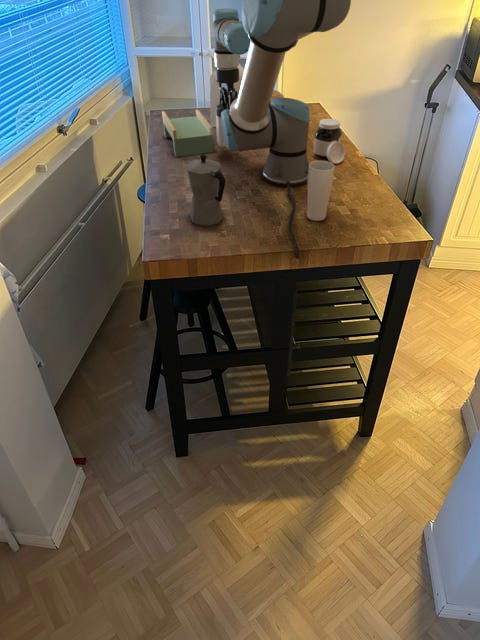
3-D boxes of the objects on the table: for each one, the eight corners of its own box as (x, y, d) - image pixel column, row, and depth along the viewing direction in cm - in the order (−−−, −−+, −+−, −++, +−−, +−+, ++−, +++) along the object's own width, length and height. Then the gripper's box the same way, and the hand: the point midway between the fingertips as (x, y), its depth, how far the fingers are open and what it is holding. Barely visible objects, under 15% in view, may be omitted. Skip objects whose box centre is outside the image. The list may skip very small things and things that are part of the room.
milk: (235, 130, 188) (234, 56, 171) (210, 126, 191) (206, 54, 174) (248, 121, 196) (248, 50, 179) (223, 117, 200) (221, 47, 183)
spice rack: (213, 152, 170) (212, 125, 164) (175, 156, 167) (173, 130, 161) (199, 132, 186) (198, 107, 180) (164, 136, 183) (161, 111, 177)
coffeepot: (179, 214, 134) (173, 152, 123) (206, 204, 139) (202, 143, 127) (211, 236, 125) (208, 170, 114) (239, 224, 130) (238, 160, 118)
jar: (227, 149, 158) (226, 111, 151) (211, 143, 163) (209, 106, 155) (246, 142, 163) (246, 106, 155) (230, 137, 168) (229, 101, 160)
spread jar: (323, 149, 171) (326, 115, 164) (351, 156, 166) (356, 121, 159) (306, 160, 164) (309, 125, 156) (336, 167, 159) (340, 132, 151)
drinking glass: (311, 225, 129) (317, 172, 119) (299, 214, 134) (303, 162, 124) (333, 220, 131) (340, 167, 121) (320, 209, 136) (326, 158, 126)
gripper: (249, 74, 141) (249, 149, 155) (229, 59, 157) (230, 129, 171) (224, 76, 139) (227, 152, 154) (207, 61, 155) (210, 131, 170)
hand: (229, 140), depth 162 cm, fingers closed on jar, 9 cm apart
